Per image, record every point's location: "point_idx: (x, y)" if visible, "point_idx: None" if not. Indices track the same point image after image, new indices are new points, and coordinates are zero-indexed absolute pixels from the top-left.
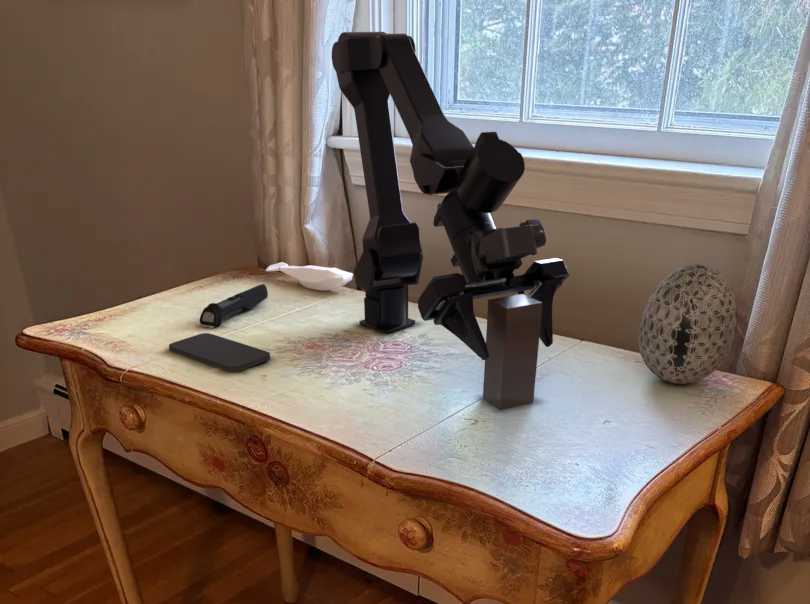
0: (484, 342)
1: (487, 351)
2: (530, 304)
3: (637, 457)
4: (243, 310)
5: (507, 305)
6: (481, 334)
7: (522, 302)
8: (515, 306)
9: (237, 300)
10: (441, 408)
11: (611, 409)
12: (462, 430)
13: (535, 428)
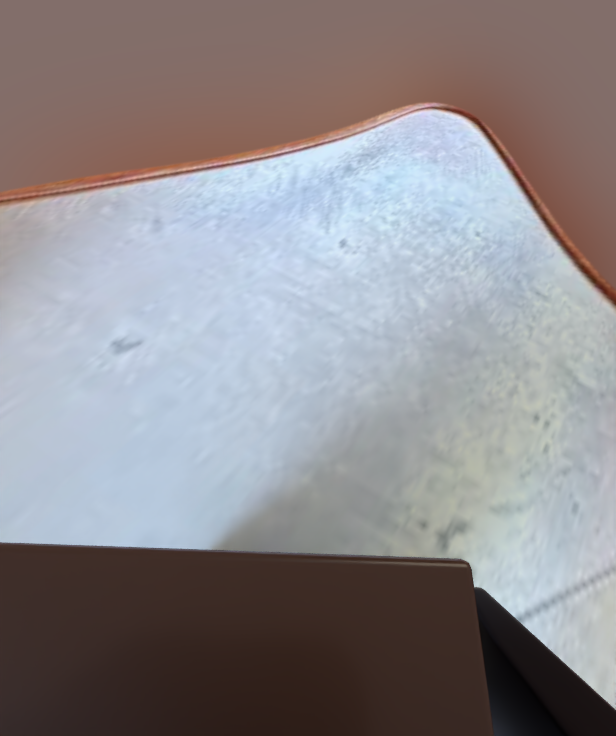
0: (512, 650)
1: (480, 599)
2: (87, 548)
3: (217, 210)
4: None
5: (400, 699)
6: (557, 707)
7: (93, 720)
8: (320, 585)
9: None
10: None
11: (39, 394)
12: (509, 504)
13: (312, 408)
